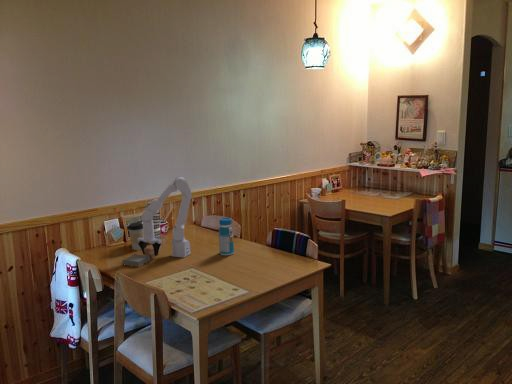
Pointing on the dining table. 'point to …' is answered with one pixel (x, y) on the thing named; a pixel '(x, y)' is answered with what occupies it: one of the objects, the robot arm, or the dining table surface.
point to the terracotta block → (149, 251)
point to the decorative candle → (156, 224)
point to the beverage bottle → (226, 237)
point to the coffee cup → (135, 234)
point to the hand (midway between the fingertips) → (150, 254)
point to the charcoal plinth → (136, 260)
